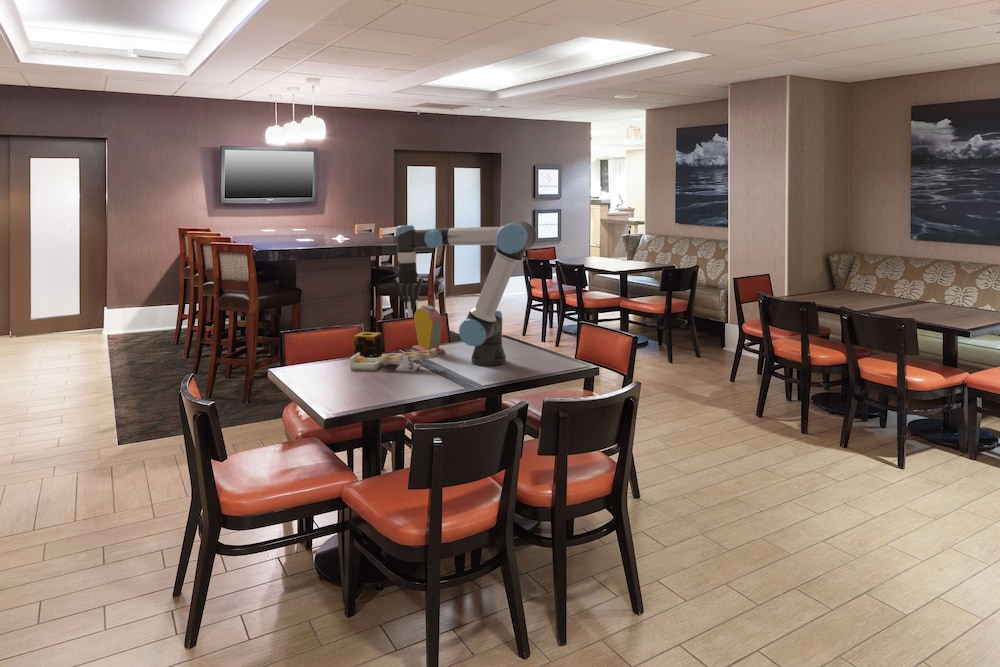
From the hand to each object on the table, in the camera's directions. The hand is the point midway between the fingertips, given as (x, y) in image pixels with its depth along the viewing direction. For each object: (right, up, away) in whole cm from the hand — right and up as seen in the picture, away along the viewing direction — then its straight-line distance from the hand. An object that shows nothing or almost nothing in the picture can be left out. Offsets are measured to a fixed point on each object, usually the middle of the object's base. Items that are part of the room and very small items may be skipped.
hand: (410, 316), depth 321 cm
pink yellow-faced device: (+5, -16, +27) cm, 32 cm away
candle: (-21, -17, +19) cm, 33 cm away
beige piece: (0, -18, -3) cm, 18 cm away
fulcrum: (0, -22, -6) cm, 23 cm away
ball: (-20, -19, -4) cm, 28 cm away
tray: (-18, -21, -4) cm, 28 cm away
